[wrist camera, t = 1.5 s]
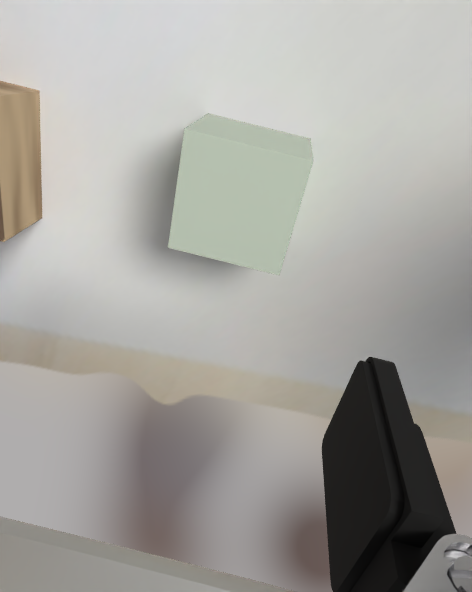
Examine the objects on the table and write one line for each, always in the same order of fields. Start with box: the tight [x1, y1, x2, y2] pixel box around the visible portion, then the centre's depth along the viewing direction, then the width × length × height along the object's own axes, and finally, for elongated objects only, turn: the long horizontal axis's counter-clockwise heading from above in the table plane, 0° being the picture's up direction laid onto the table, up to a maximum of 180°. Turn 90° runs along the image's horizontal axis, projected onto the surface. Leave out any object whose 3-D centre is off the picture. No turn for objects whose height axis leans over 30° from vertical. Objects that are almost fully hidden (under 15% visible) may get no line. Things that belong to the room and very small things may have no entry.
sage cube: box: [168, 113, 313, 275], centre depth 23 cm, size 6×6×6 cm
